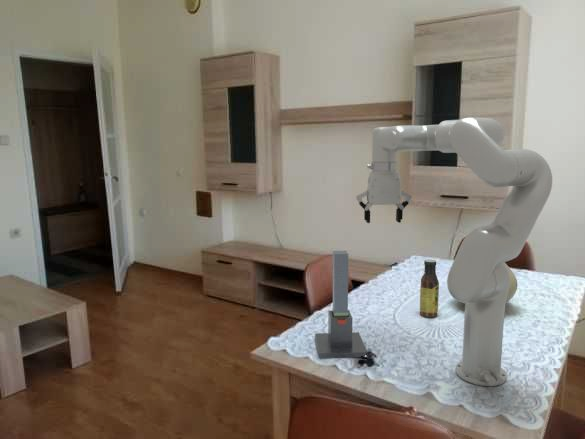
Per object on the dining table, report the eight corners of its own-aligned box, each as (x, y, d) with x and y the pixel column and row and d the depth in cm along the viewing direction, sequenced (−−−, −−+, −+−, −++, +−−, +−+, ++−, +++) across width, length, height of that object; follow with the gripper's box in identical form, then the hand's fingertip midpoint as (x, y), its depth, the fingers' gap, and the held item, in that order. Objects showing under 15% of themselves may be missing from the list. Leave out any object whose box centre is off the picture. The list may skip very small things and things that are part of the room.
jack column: (348, 326, 139) (348, 253, 135) (333, 326, 139) (334, 254, 135) (345, 320, 143) (346, 250, 139) (332, 321, 143) (332, 250, 139)
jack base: (367, 356, 135) (367, 322, 134) (319, 358, 135) (318, 323, 133) (358, 336, 149) (359, 305, 147) (315, 337, 149) (314, 306, 147)
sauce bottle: (438, 318, 163) (440, 263, 160) (420, 317, 164) (422, 262, 161) (436, 312, 169) (439, 258, 166) (419, 311, 171) (420, 258, 167)
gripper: (358, 168, 140) (357, 224, 143) (415, 167, 141) (413, 223, 144) (354, 167, 148) (353, 220, 151) (408, 166, 148) (407, 219, 151)
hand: (383, 222), depth 147 cm, fingers open, 9 cm apart
